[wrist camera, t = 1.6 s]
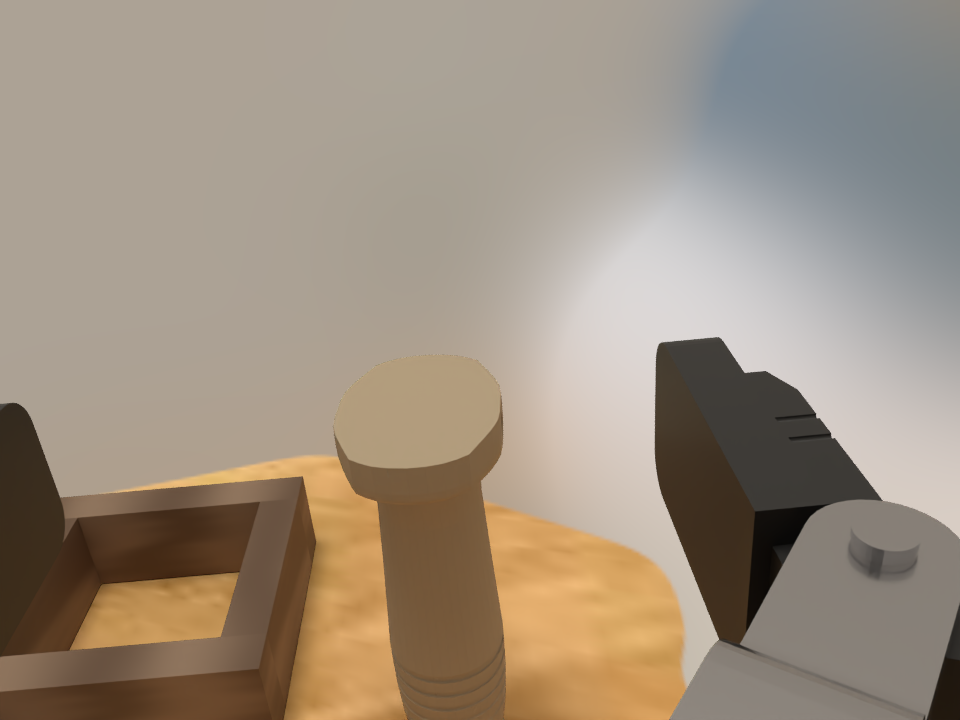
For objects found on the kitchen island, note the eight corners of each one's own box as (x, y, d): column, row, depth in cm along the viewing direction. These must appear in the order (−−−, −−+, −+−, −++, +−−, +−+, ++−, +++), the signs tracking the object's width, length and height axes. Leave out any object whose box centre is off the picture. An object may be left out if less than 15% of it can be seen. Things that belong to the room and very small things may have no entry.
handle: (385, 831, 30) (315, 471, 23) (406, 683, 36) (355, 358, 29) (526, 830, 30) (497, 464, 23) (525, 680, 36) (502, 351, 29)
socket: (-35, 771, 34) (-73, 698, 32) (77, 562, 44) (53, 498, 43) (278, 744, 34) (258, 668, 32) (316, 541, 45) (302, 476, 43)
